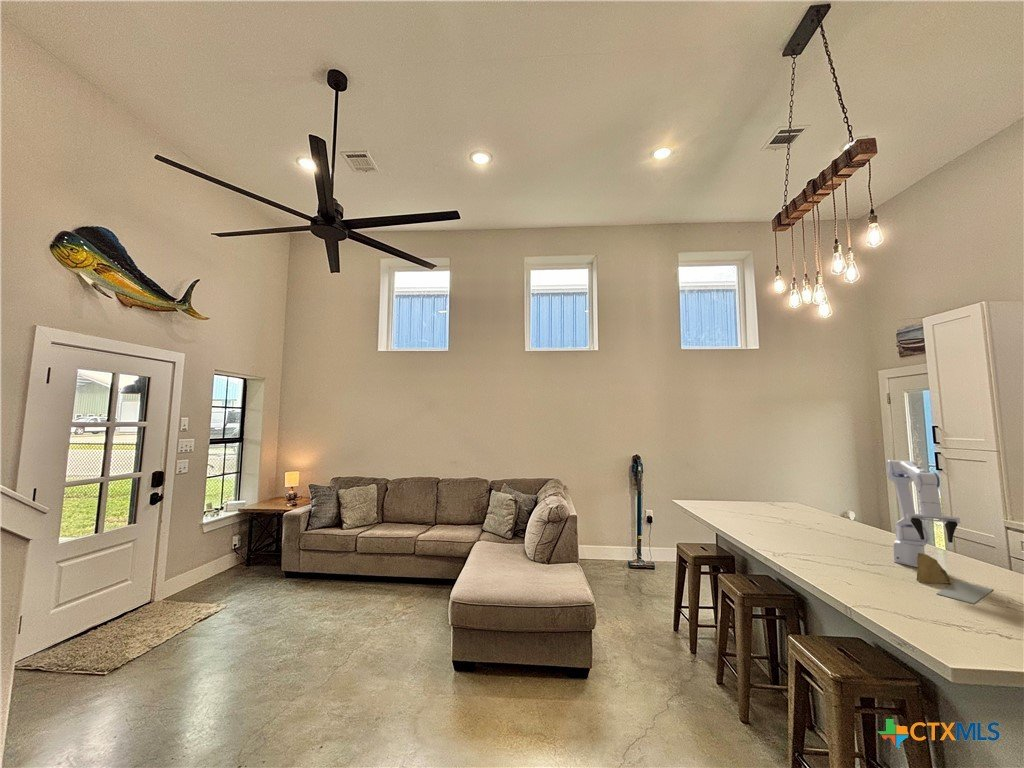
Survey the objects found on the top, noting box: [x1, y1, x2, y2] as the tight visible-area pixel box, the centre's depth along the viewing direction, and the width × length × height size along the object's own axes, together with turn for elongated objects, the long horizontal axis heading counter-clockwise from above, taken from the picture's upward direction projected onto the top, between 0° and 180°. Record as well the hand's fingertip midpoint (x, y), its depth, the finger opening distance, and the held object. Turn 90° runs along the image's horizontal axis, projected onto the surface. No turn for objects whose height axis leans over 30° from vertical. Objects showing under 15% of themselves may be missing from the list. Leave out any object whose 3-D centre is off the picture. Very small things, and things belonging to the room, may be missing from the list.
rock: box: [916, 553, 953, 584], centre depth 160 cm, size 11×9×10 cm
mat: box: [936, 580, 994, 605], centre depth 151 cm, size 9×24×1 cm, turn 121°
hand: (936, 541), depth 159 cm, fingers open, 7 cm apart
